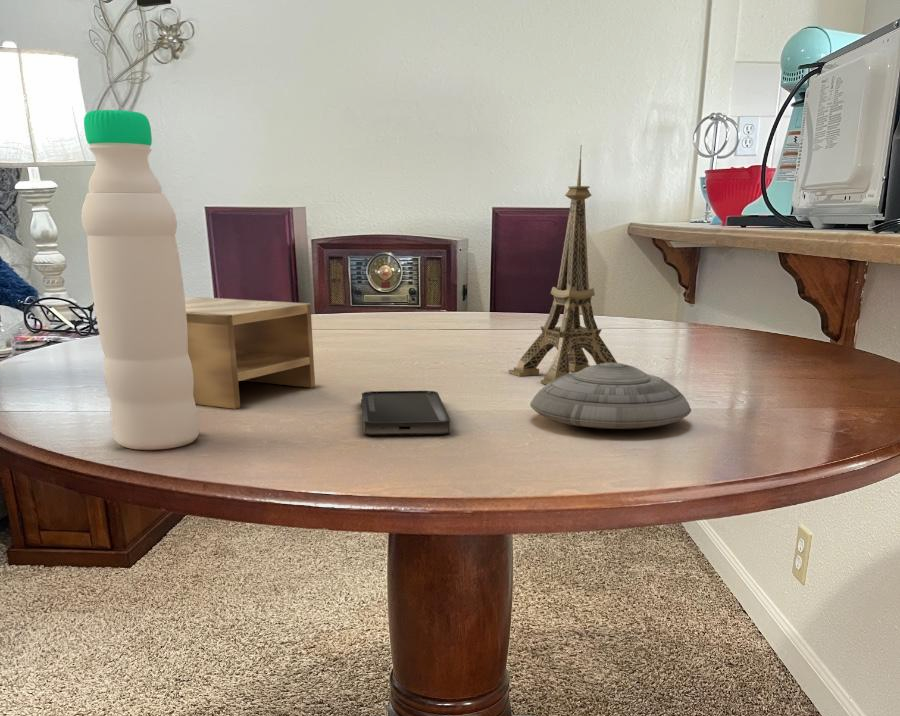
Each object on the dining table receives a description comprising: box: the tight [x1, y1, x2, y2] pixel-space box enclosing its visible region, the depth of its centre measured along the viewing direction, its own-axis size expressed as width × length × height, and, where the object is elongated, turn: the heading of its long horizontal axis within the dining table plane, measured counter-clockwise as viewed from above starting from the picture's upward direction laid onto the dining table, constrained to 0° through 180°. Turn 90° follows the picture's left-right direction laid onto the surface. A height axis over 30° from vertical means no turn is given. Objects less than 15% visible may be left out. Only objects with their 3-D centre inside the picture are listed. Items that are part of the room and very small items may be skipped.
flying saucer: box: [529, 362, 692, 430], centre depth 83 cm, size 15×15×6 cm
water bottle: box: [80, 109, 200, 451], centre depth 71 cm, size 7×7×25 cm
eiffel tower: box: [508, 144, 618, 385], centre depth 102 cm, size 11×11×25 cm
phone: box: [360, 390, 451, 436], centre depth 85 cm, size 8×1×15 cm
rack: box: [185, 296, 316, 410], centre depth 96 cm, size 16×14×9 cm
